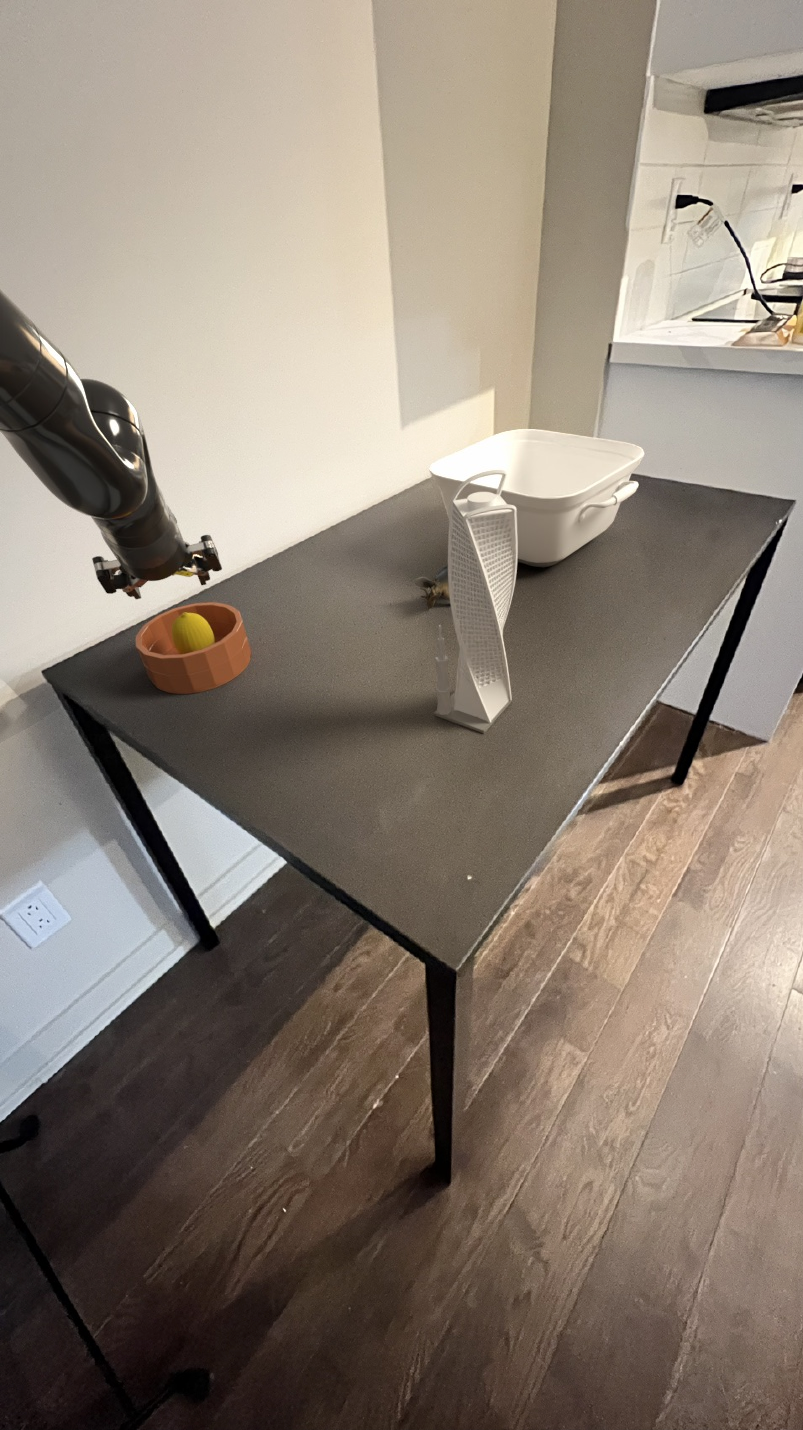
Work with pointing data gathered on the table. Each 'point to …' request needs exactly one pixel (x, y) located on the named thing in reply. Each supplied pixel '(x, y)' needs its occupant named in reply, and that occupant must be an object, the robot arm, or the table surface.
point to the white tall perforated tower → (478, 606)
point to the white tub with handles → (547, 486)
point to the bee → (435, 586)
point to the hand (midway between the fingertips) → (170, 585)
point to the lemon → (191, 633)
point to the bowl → (197, 666)
